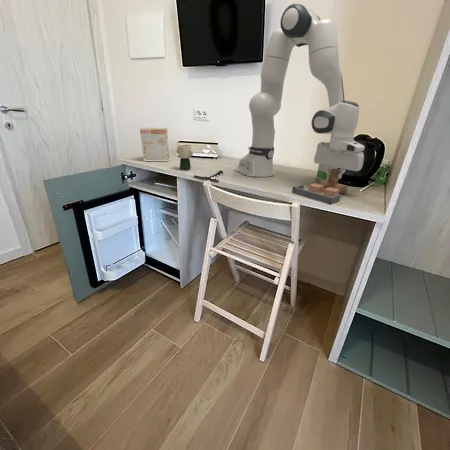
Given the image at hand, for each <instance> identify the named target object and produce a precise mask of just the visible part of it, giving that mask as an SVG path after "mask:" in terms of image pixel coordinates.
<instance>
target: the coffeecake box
mask: <svg viewBox="0 0 450 450" xmlns="http://www.w3.org/2000/svg"><path fill="white" fill-rule="evenodd" d="M139 130H140V131H139V132H140V140H141V141H140V142H141V147H142V158H143V160H144V159H146V160H168V159H169V160H170V150H169V149H170V148H169V135H168V127H142V128H139Z"/></svg>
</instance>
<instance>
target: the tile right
mask: <svg viewBox="0 0 450 450" xmlns="http://www.w3.org/2000/svg"><path fill="white" fill-rule="evenodd" d="M339 190H340V189H336V188H331V187H328V188H326V189H324V192H323V194H322V195H325V196H329V197H332V196H335V195H338V194H340V193H339Z"/></svg>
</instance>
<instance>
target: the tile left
mask: <svg viewBox="0 0 450 450" xmlns="http://www.w3.org/2000/svg"><path fill="white" fill-rule="evenodd" d="M308 191H311V192H315V193H318V194H321V193H324V185H320V184H317V182H316V183H312V184H309V186H308Z"/></svg>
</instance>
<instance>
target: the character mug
mask: <svg viewBox="0 0 450 450" xmlns="http://www.w3.org/2000/svg"><path fill="white" fill-rule="evenodd" d="M176 154H177V157H178V158H180V160H179V169H180V168H181V169H180V170H183V169H184V170H187V169H188V170H191V169H192V166H191V160H190V158H191V157H192V156H194V150H193V149H192V145H190V144H178V145H177V147H176ZM190 168H191V169H190Z"/></svg>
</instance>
